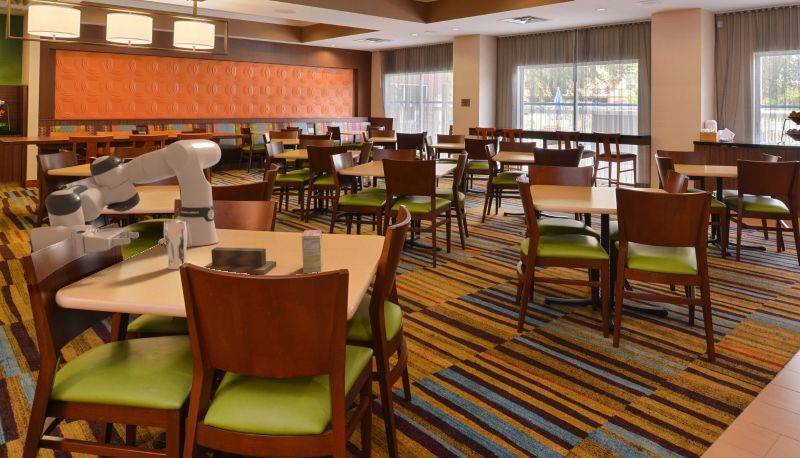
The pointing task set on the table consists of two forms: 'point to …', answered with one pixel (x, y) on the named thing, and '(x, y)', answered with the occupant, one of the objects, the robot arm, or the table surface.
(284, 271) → the table surface
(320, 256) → the box
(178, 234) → the beer glass
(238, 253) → the ridge
